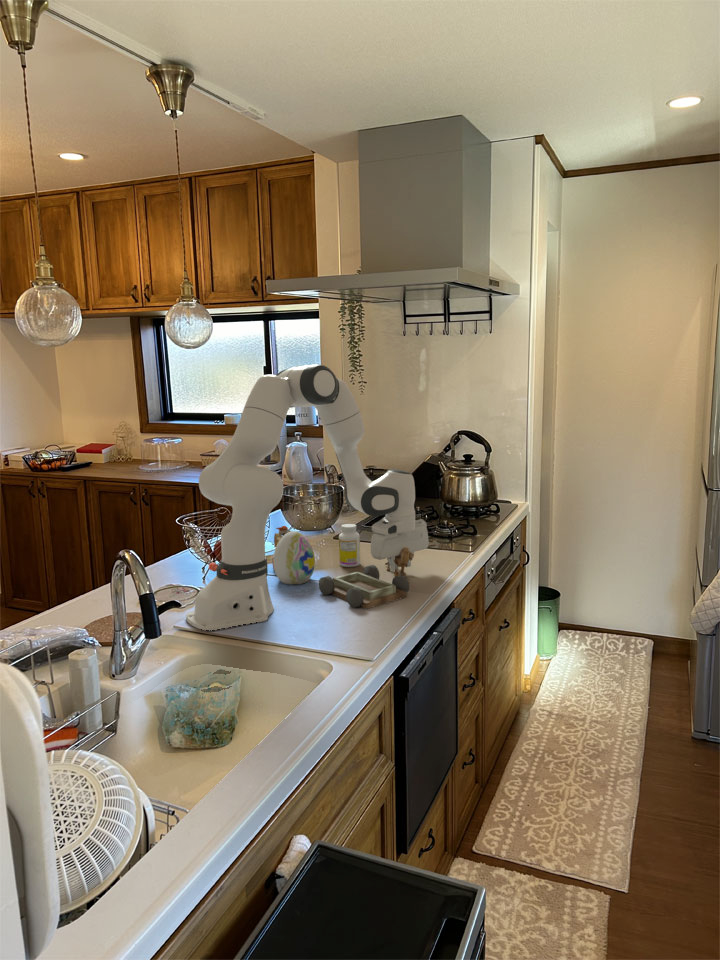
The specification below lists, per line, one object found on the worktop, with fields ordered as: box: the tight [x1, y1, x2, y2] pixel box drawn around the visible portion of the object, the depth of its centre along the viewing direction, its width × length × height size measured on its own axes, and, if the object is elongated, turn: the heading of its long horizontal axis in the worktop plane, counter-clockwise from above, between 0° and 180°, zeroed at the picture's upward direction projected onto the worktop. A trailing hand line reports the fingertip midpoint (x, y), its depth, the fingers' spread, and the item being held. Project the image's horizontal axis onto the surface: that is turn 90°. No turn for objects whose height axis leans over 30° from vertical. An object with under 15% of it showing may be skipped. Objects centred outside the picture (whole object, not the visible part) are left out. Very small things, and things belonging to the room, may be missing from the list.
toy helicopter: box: [272, 525, 291, 572], centre depth 230 cm, size 8×21×14 cm, turn 17°
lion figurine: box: [384, 547, 415, 577], centre depth 219 cm, size 15×5×9 cm, turn 26°
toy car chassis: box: [318, 564, 410, 610], centre depth 201 cm, size 18×20×5 cm
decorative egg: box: [272, 530, 316, 585], centre depth 213 cm, size 12×12×15 cm
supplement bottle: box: [338, 523, 361, 568], centre depth 228 cm, size 7×7×13 cm
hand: (400, 568), depth 217 cm, fingers closed on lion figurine, 4 cm apart
